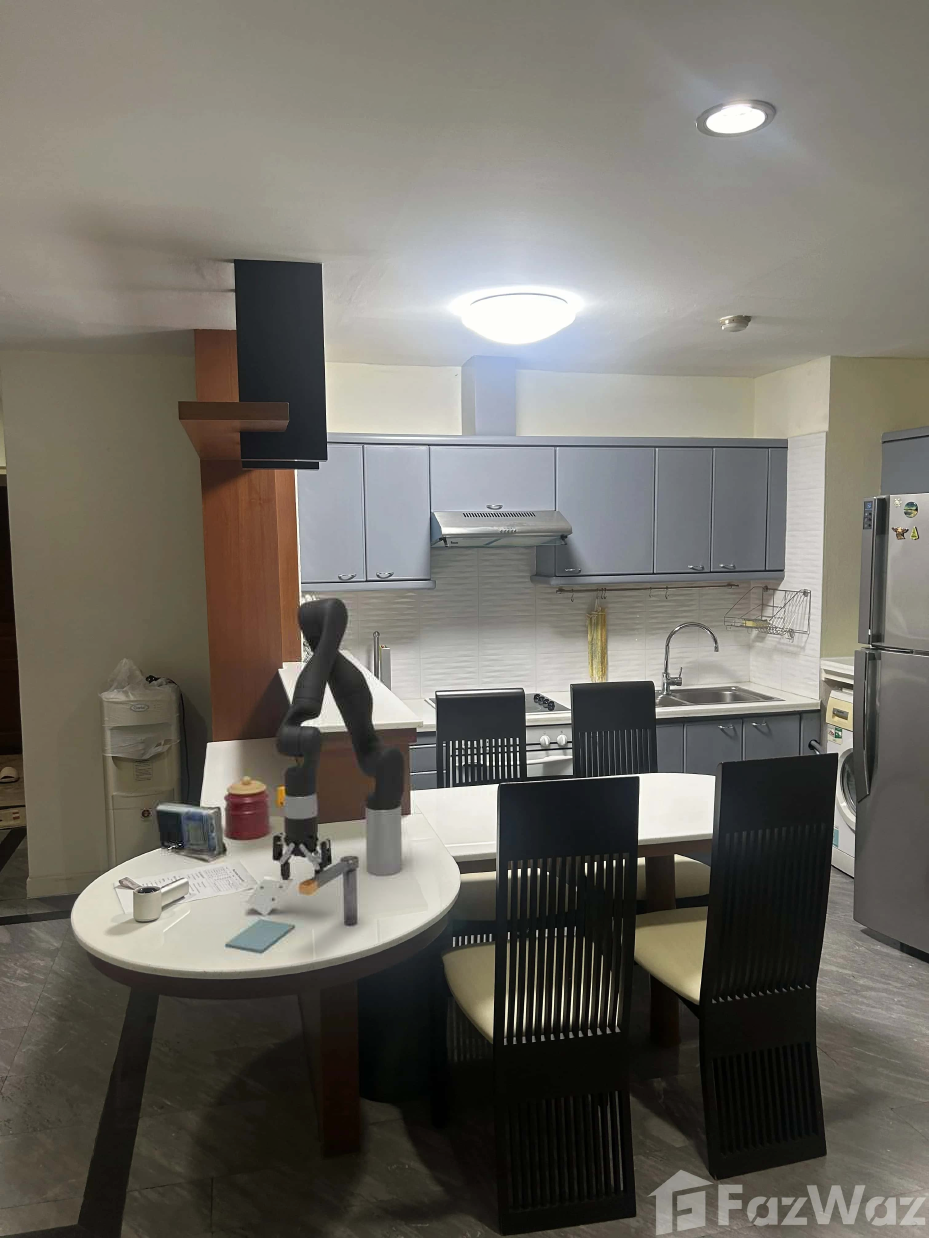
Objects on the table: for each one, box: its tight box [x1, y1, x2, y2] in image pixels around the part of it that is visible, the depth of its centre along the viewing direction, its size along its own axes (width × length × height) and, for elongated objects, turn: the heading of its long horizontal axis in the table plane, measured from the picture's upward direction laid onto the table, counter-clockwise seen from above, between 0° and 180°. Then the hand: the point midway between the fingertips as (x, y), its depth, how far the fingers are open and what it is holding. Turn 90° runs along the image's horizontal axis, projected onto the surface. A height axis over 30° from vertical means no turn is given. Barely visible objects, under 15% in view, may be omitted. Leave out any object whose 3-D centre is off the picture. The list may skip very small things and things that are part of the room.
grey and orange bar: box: [298, 855, 360, 896], centre depth 190 cm, size 19×4×2 cm, turn 154°
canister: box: [223, 775, 271, 841], centre depth 258 cm, size 13×13×18 cm
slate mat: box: [224, 918, 296, 955], centre depth 191 cm, size 13×9×1 cm
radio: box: [155, 802, 228, 863], centre depth 243 cm, size 23×8×14 cm, turn 53°
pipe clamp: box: [277, 785, 285, 807], centre depth 285 cm, size 12×4×6 cm, turn 59°
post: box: [342, 868, 358, 927], centre depth 198 cm, size 3×3×13 cm
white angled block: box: [245, 875, 294, 916], centre depth 204 cm, size 4×10×9 cm, turn 92°
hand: (302, 881), depth 202 cm, fingers open, 8 cm apart
